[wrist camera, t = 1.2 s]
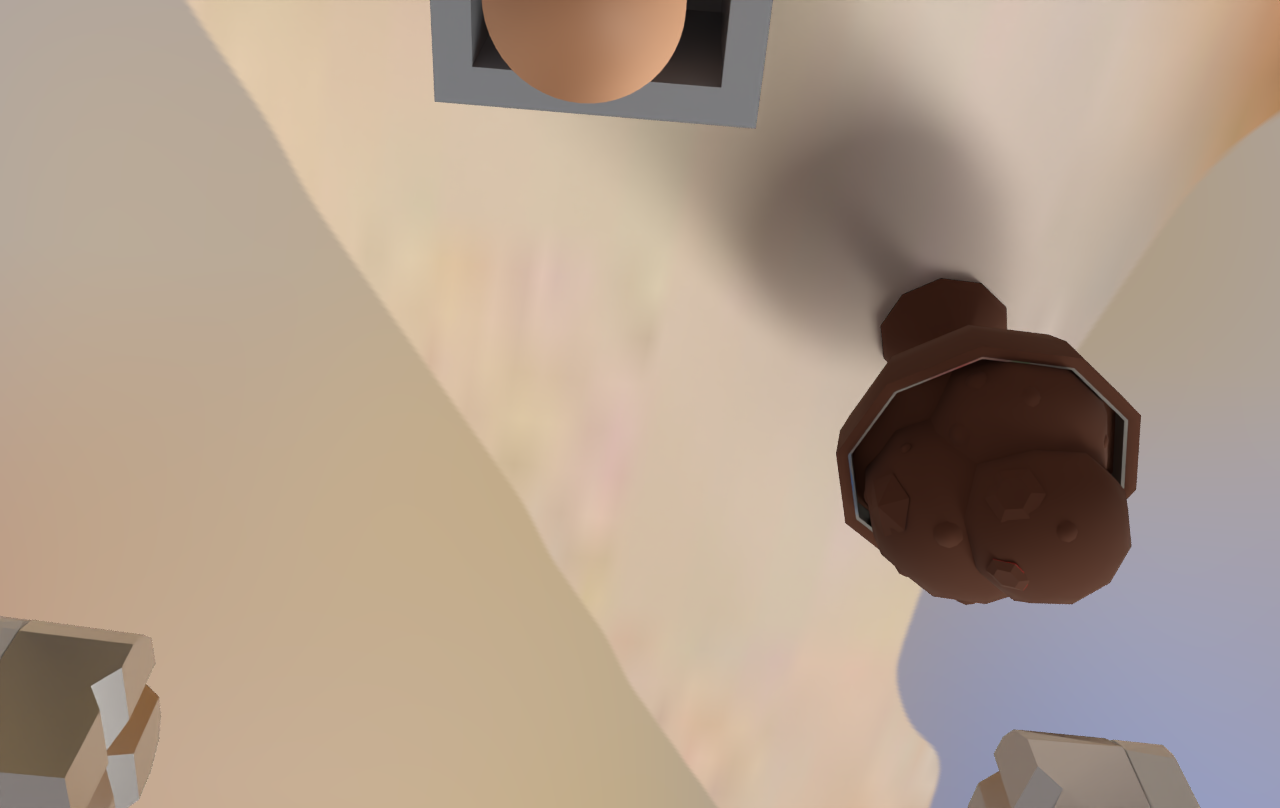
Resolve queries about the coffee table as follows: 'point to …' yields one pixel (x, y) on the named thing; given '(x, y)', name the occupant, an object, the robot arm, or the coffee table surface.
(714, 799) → the coffee table surface
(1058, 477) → the ice cream bowl
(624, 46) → the peg
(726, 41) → the grey open square box
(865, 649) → the coffee table surface
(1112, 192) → the coffee table surface
